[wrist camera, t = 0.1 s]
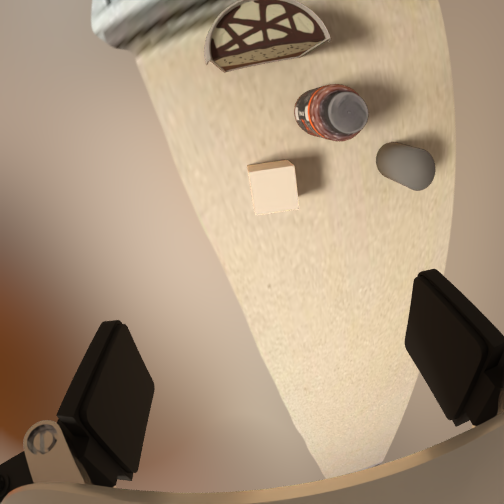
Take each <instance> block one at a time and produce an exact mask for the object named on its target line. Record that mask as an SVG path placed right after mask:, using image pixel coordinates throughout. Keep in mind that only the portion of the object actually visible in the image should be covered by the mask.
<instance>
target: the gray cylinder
mask: <svg viewBox="0 0 504 504" xmlns="http://www.w3.org/2000/svg"><path fill="white" fill-rule="evenodd" d="M376 164H377V167H378V170H379V171H380V173H381V174H382V175H383V176H385V177H387V178H389V179H391V180H393V181H396V182H398V183H400V184H402V185H404V186H406V187H408V188H410V189H412V190H416V191H419V190H423V189H425V188H427V187H428V186H429V185H430V184H431V182H432V181H433V178H434V175H435V163H434V160H433V158H432V156H431V155H430V154H429V153H428V152H427V151H426V150H423V149H420V148H415V147H411V146H407V145H403V144H399V143H394V142H390V143H386V144H385V145H383V146H382V147H381V148H380V149H379V151H378V153H377V157H376Z"/></svg>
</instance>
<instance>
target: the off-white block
mask: <svg viewBox="0 0 504 504" xmlns="http://www.w3.org/2000/svg"><path fill="white" fill-rule="evenodd" d="M247 169H248V175H249V182H250V188H251V194H252V200H253V206H254V211H255V216H257V215H264V214H270V213H277V212H283V211H290V210H296V209H299V202H298V193H297V184H296V176H295V167H294V165H293V164H292V163H290V162H289V161H288V160H282V161H274V162H267V163H261V164H254V165H248V166H247Z"/></svg>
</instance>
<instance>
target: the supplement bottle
mask: <svg viewBox="0 0 504 504" xmlns="http://www.w3.org/2000/svg"><path fill="white" fill-rule="evenodd" d="M294 114H295V119H296V121H297V123H298V125H299V126H300V127H301V128H302V129H303V130H304V131H305V132H307V133H308V134H310V135H313V136H317V137H321V138H325V139H329V140H332V141H346V140H349V139H351V138H353V137H354V136H356V135H357V134H358V133H359V132H360V131H361V130H362V129H363V127H364V126H365V125H366V123H367V120H368V108H367V105H366V103H365V101H364V100H363V99H362V98H361V97H360V96H359V95H358V93H357V92H355V91H354V90H353V89H351V88H349V87H347V86H344V85H340V84H332V85H326V86H323V87H319V88H316V89H313V90H309V91H307V92H305V93H304V94H302V95H301V96H300V97H299V99H298V100H297V102H296V104H295V109H294Z"/></svg>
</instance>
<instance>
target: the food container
mask: <svg viewBox="0 0 504 504" xmlns="http://www.w3.org/2000/svg"><path fill="white" fill-rule="evenodd" d="M327 40H328V42H330V41H331V37H330V35H329V32H328V30H327V28H326V27H325V25H324V23H323V22H322V21H321V19H320V18H319V17H318V16H317V15H316V14H315V13H314V12H313V11H312V10H311V9H309V8H308V7H306V6H305V5H303V4H301V3H299V2H297V1H295V0H240V1H237V2H235V3H234V4H232V5H230V6H229V7H227V8H226V9H225V10H224V11H223V12H221V14H220V15H219V16H218V17H217V18H216V19H215V21H214V23H213V24H212V26H211V28H210V30H209V32H208V35H207V37H206V41H205V47H204V57H205V63H206V65H207V64H208V62H209V61H211V62H212V63H213V64H215V65H216V66H217V67H218V68H219V69H220V70H222V71H223V72H228V71H232V70H237V69H241V68H245V67H250V66H255V65H260V64H265V63H270V62H275V61H281V60H287V59H293V58H300V57H301V56H303V55H304V54H306V53H308V52H309V51H311V50H312V49H314V48H316V47H317V46H319V45H320V44H322V43H324V42H325V41H327Z"/></svg>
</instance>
